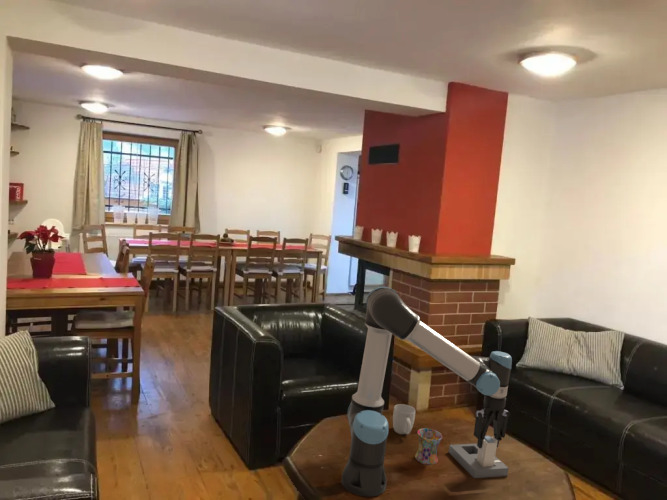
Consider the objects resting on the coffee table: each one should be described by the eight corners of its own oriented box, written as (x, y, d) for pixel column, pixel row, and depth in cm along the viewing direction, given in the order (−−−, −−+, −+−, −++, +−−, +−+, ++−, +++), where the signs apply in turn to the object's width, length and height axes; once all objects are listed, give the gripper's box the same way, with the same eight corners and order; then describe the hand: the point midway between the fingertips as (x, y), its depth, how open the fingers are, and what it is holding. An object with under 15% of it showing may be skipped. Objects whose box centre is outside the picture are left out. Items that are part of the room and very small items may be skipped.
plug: (482, 469, 187) (487, 441, 186) (476, 463, 191) (480, 435, 190) (493, 468, 188) (497, 440, 187) (486, 462, 192) (490, 435, 191)
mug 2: (441, 468, 190) (445, 441, 188) (416, 466, 189) (420, 439, 188) (433, 451, 202) (437, 426, 200) (410, 449, 201) (413, 423, 200)
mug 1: (388, 425, 220) (391, 403, 219) (409, 426, 221) (412, 404, 220) (396, 440, 207) (399, 417, 206) (418, 441, 209) (421, 417, 208)
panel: (473, 480, 184) (475, 469, 183) (448, 454, 201) (449, 444, 200) (507, 478, 188) (508, 467, 187) (479, 452, 205) (480, 442, 204)
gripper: (480, 399, 180) (471, 462, 183) (522, 398, 186) (512, 459, 188) (468, 390, 187) (460, 451, 190) (509, 390, 193) (500, 449, 195)
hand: (486, 455), depth 189 cm, fingers closed on plug, 4 cm apart
